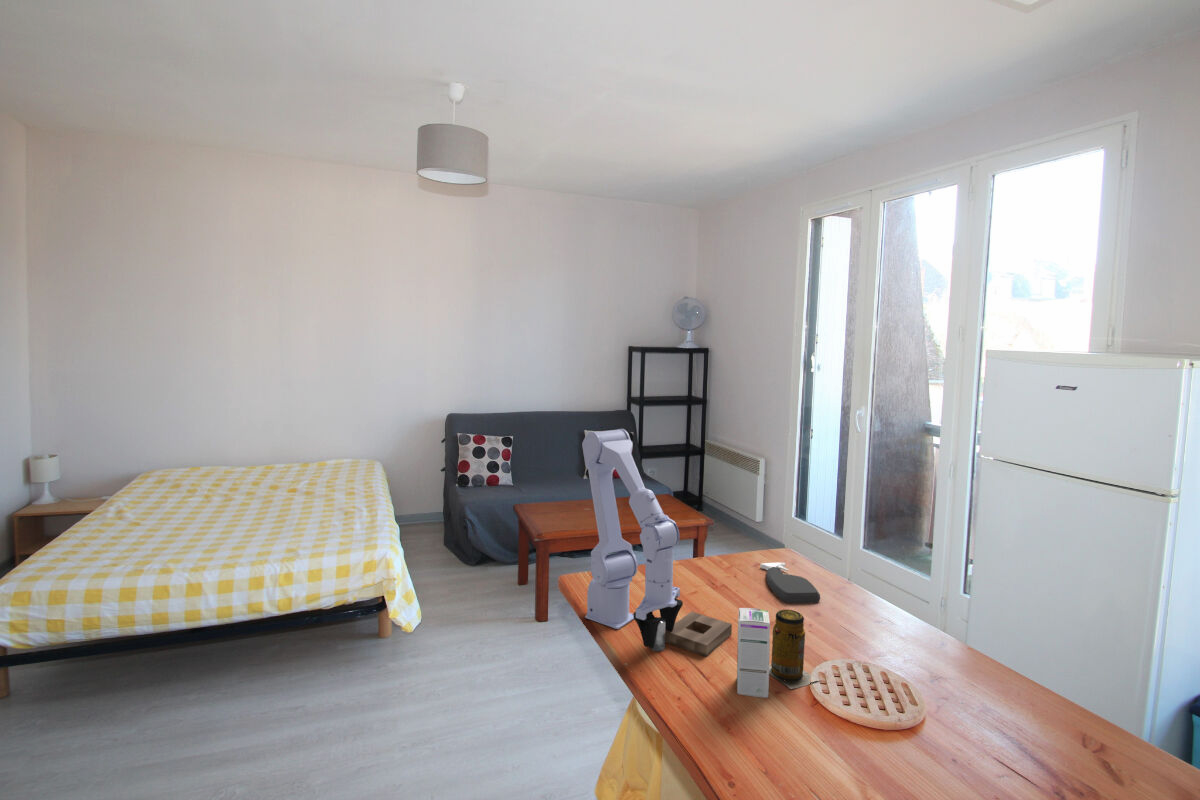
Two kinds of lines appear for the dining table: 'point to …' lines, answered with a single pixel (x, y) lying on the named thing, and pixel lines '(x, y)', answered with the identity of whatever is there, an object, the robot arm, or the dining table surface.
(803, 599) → the spray bottle
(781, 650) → the condiment
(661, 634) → the pin
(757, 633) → the syrup box
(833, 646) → the dining table surface
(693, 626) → the bore block
